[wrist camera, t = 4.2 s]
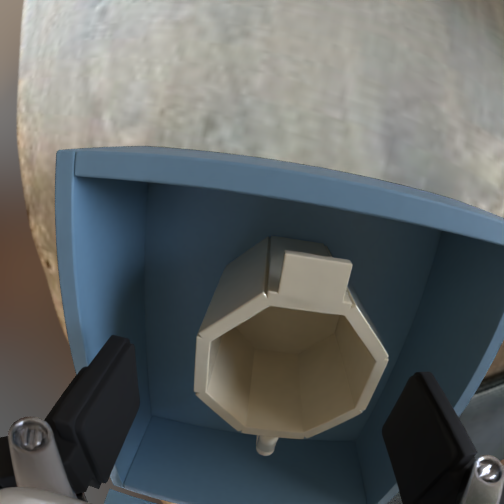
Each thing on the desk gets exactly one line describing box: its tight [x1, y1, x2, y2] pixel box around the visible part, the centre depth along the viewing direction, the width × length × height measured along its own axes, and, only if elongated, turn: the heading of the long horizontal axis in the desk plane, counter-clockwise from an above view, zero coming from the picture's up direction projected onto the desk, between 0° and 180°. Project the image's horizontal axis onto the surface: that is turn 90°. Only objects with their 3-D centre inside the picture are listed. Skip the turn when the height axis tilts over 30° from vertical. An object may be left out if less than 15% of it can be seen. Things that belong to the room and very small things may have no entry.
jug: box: [194, 236, 389, 456], centre depth 13 cm, size 10×7×6 cm, turn 172°
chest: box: [55, 146, 504, 504], centre depth 14 cm, size 19×17×7 cm
